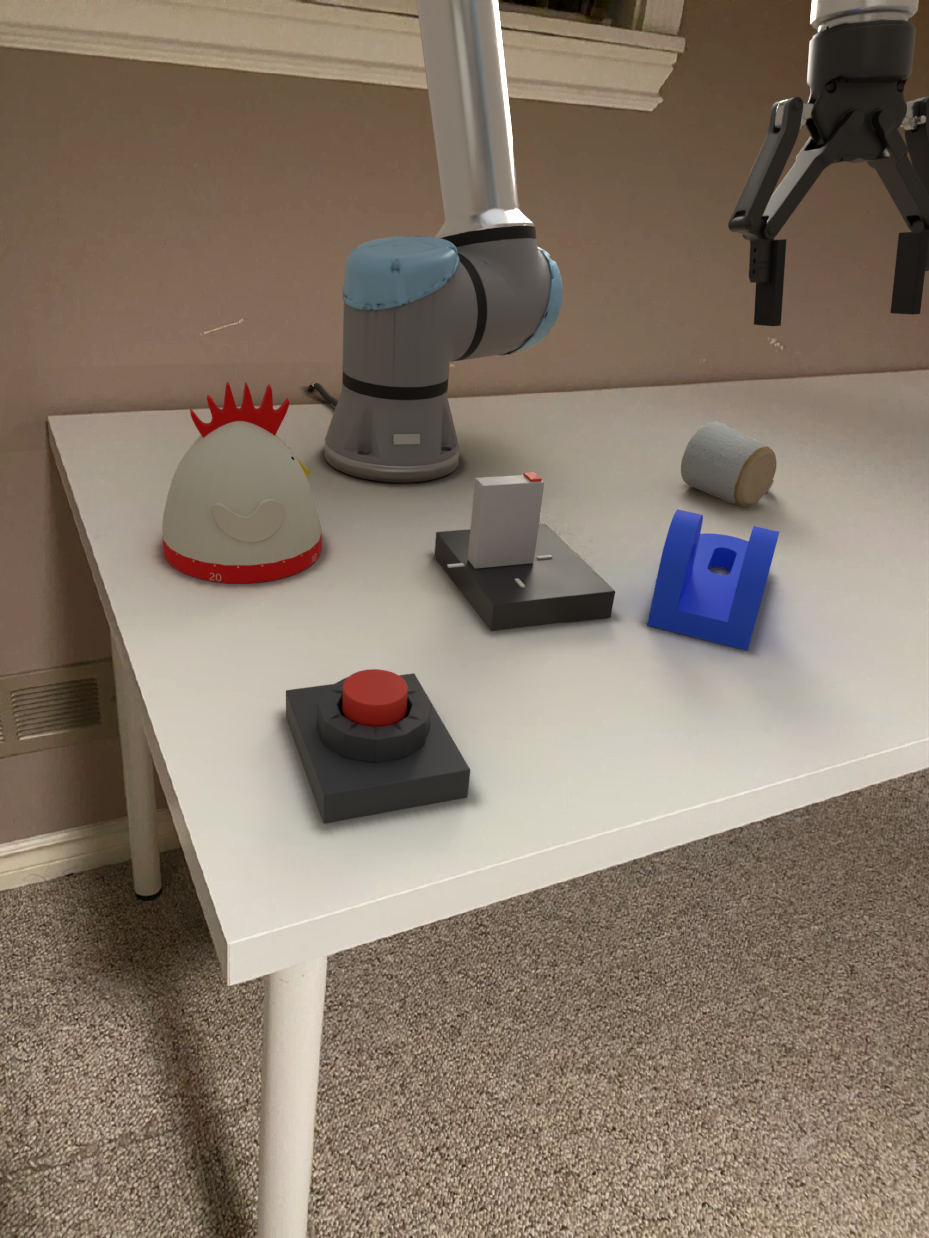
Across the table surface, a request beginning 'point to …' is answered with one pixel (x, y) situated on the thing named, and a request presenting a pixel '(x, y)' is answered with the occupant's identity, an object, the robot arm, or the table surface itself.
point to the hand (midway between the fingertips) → (837, 320)
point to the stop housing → (374, 755)
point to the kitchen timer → (241, 499)
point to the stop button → (374, 698)
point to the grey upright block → (505, 520)
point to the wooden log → (728, 464)
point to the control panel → (527, 584)
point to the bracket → (711, 582)
